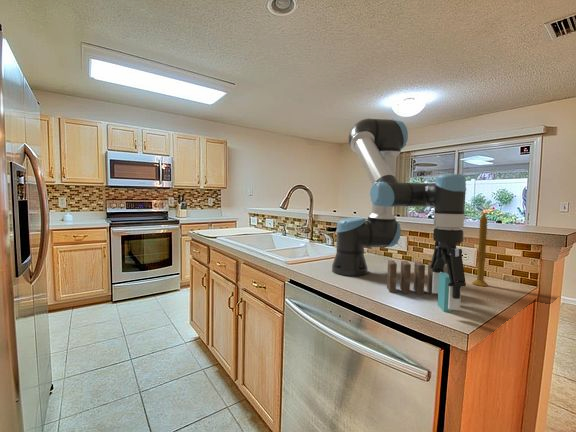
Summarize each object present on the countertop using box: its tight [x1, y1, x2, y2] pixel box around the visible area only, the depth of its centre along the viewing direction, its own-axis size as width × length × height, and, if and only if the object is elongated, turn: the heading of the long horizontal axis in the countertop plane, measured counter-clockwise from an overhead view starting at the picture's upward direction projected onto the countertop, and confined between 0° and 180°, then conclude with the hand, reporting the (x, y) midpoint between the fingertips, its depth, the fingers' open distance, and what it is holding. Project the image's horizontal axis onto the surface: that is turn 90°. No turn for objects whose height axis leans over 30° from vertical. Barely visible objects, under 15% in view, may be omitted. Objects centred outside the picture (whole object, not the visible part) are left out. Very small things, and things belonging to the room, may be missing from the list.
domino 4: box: [426, 261, 438, 297], centre depth 97 cm, size 2×5×10 cm, turn 170°
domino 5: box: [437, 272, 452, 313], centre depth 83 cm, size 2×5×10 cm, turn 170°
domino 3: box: [412, 261, 426, 296], centre depth 97 cm, size 2×5×10 cm, turn 170°
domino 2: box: [399, 260, 412, 295], centre depth 98 cm, size 2×5×10 cm, turn 170°
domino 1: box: [386, 259, 398, 294], centre depth 99 cm, size 2×5×10 cm, turn 170°
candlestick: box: [471, 212, 489, 287], centre depth 106 cm, size 27×5×5 cm
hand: (444, 300), depth 83 cm, fingers open, 13 cm apart
